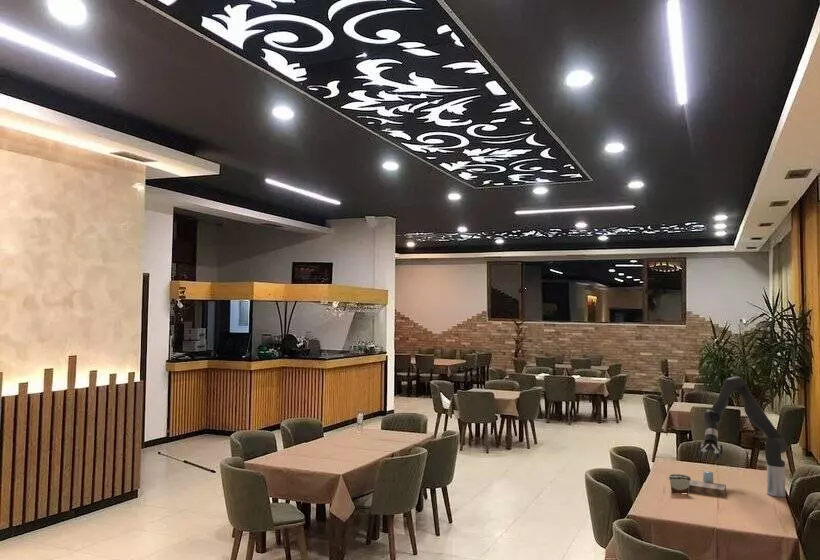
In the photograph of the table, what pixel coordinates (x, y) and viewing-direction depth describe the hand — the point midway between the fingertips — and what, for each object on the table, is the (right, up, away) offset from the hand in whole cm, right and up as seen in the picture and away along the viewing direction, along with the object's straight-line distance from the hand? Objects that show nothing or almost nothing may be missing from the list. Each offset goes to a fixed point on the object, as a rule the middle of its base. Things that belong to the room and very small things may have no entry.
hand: (709, 458), depth 400 cm
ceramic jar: (-6, -15, -10) cm, 19 cm away
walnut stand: (-11, -14, -21) cm, 27 cm away
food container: (-30, -14, -24) cm, 41 cm away
